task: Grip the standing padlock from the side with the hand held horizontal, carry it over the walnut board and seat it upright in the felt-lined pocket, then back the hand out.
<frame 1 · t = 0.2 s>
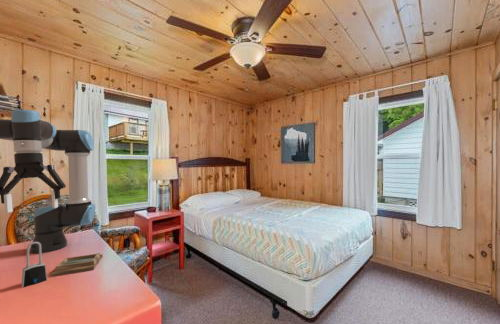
hand: (32, 210, 85), 27 cm above the table, tool pointing down, fingers open, 13 cm apart
padlock: (34, 282, 85), on the table
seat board: (79, 265, 99), on the table
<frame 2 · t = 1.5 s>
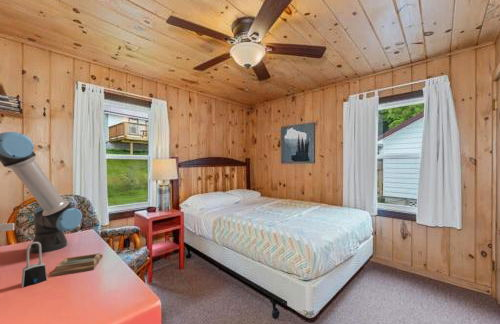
hand: (3, 230, 83), 20 cm above the table, tool horizontal, fingers open, 13 cm apart
nothing on the table moved.
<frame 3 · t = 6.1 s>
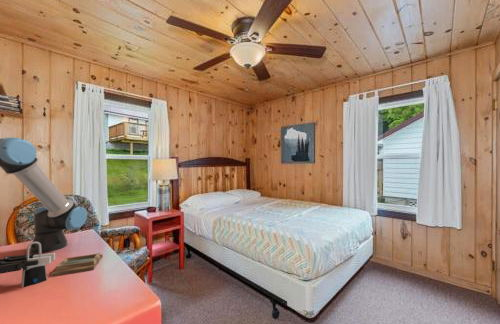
hand: (52, 258, 87), 8 cm above the table, tool horizontal, fingers closed on padlock, 3 cm apart
padlock: (34, 282, 85), on the table, touching gripper
when the fingers open (11 cm above the table, at t = 10.9 s): padlock drops 1 cm, resting on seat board.
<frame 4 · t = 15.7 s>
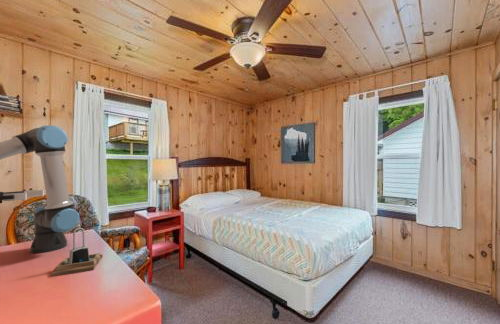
hand: (35, 194, 95), 32 cm above the table, tool horizontal, fingers open, 13 cm apart
padlock: (79, 263, 99), point 1 cm above the table, touching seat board
at the end: padlock inside the target area on the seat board (0.0 cm from its centre), point 1.2 cm above the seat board's base; padlock tilted 0°; padlock touching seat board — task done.
